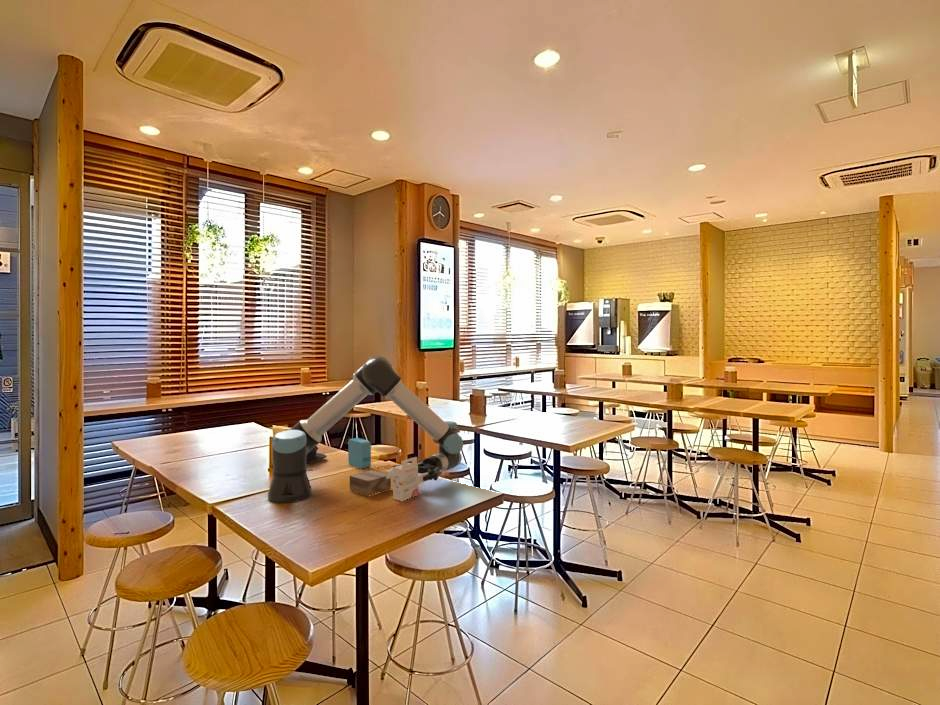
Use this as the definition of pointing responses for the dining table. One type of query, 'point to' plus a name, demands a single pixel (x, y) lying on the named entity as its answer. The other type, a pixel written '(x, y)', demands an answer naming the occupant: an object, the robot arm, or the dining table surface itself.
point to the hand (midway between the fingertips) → (401, 477)
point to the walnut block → (369, 482)
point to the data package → (359, 453)
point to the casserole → (314, 455)
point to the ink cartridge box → (405, 480)
